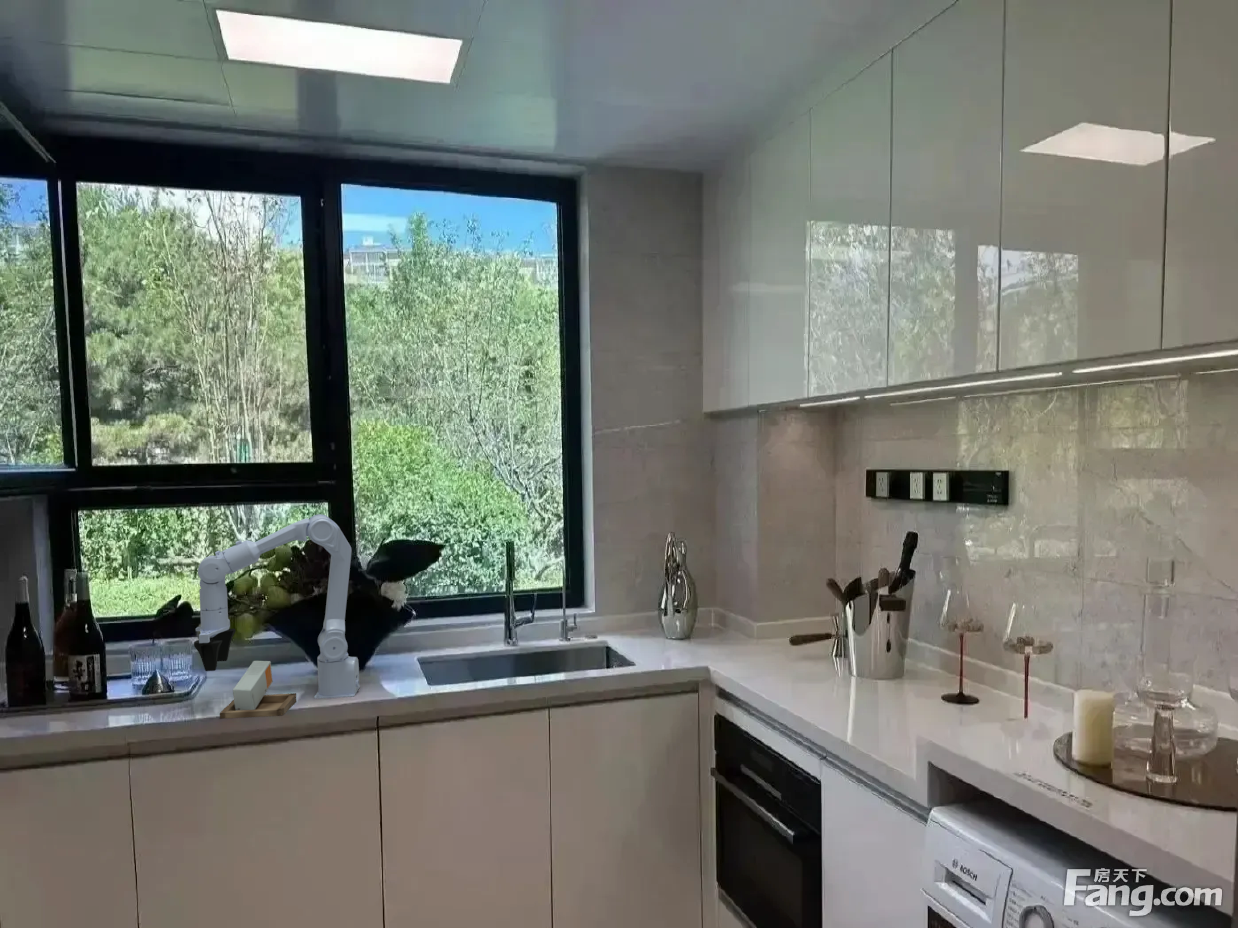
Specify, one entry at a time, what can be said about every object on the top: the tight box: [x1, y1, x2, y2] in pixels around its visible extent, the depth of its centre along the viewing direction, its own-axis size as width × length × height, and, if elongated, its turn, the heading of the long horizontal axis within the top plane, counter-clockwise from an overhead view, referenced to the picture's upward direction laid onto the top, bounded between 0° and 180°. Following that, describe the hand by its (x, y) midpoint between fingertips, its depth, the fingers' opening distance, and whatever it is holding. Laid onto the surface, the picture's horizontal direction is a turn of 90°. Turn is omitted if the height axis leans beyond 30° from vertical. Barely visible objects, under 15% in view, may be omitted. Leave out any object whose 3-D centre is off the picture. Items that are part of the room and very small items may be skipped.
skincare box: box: [232, 660, 274, 711], centre depth 191 cm, size 6×4×12 cm
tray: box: [219, 692, 297, 720], centre depth 188 cm, size 13×11×2 cm
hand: (216, 665), depth 191 cm, fingers open, 7 cm apart
